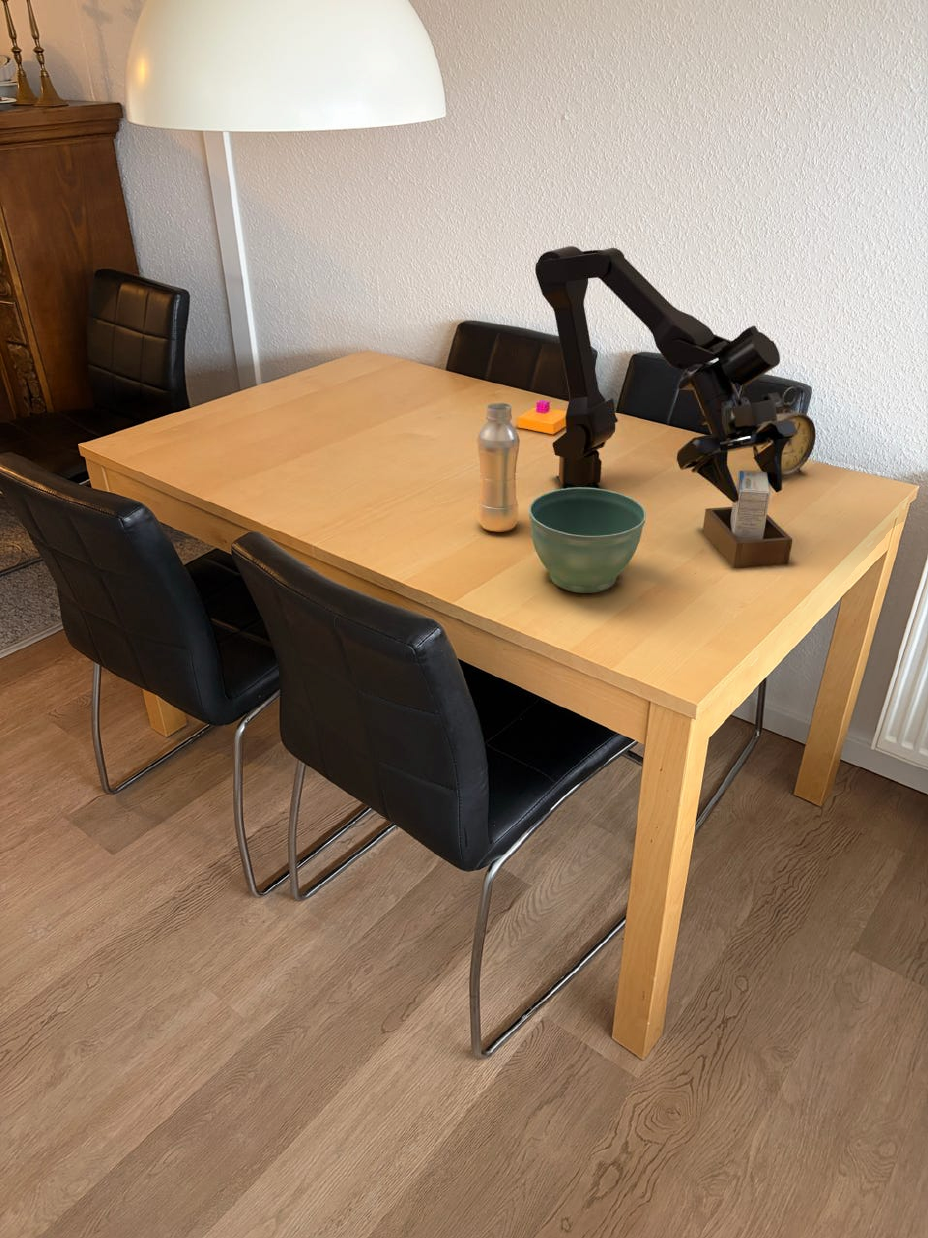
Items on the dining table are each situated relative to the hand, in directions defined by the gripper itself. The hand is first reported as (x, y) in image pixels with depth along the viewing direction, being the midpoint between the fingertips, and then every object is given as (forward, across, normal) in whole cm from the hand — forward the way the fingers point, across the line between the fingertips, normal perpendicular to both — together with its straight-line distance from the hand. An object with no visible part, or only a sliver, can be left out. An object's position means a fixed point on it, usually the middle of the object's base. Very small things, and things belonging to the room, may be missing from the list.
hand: (757, 496), depth 144 cm
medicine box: (+4, 0, +6) cm, 7 cm away
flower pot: (+4, -27, +9) cm, 29 cm away
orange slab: (-40, +2, +50) cm, 65 cm away
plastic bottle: (-11, -30, +24) cm, 40 cm away
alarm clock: (-8, +24, +21) cm, 33 cm away
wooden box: (+6, 0, +7) cm, 9 cm away
